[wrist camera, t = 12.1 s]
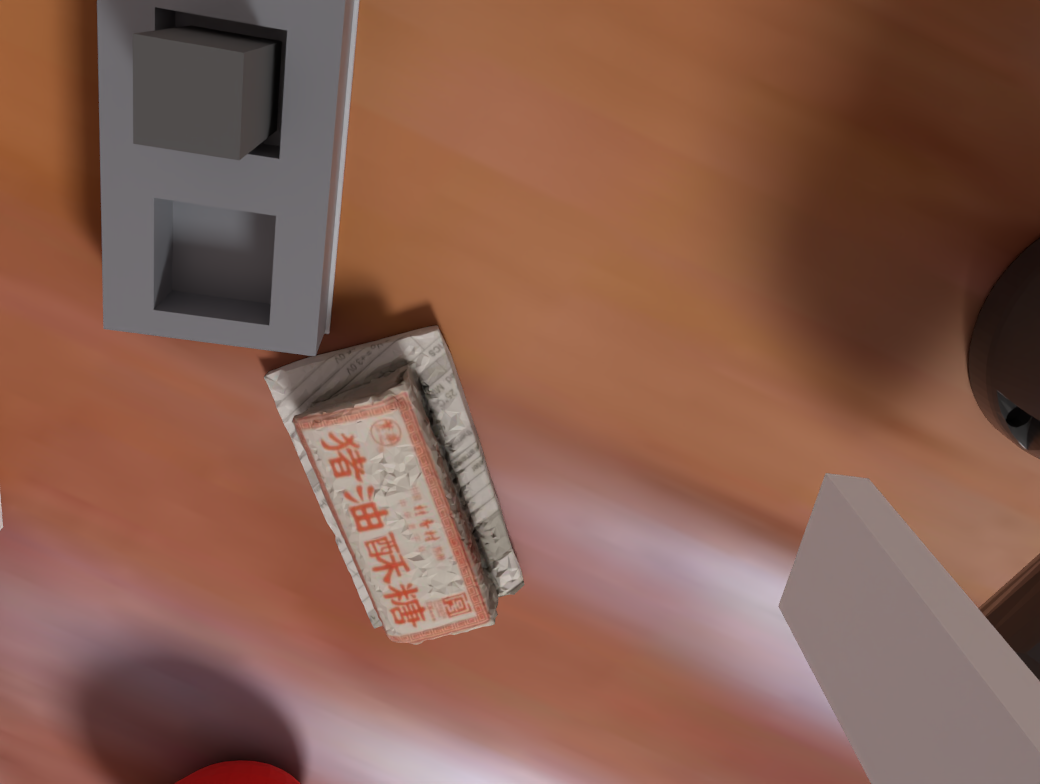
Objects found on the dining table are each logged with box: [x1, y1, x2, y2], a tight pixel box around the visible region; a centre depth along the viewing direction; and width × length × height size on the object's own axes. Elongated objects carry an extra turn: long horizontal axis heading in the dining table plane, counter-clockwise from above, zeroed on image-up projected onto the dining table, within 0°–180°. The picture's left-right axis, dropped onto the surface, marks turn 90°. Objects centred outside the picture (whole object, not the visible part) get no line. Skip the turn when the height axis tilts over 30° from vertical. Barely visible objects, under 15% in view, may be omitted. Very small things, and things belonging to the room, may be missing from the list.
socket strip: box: [97, 0, 359, 356], centre depth 40 cm, size 10×24×4 cm, turn 170°
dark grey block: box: [133, 25, 282, 160], centre depth 37 cm, size 4×4×8 cm
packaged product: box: [264, 325, 524, 645], centre depth 50 cm, size 18×5×10 cm
